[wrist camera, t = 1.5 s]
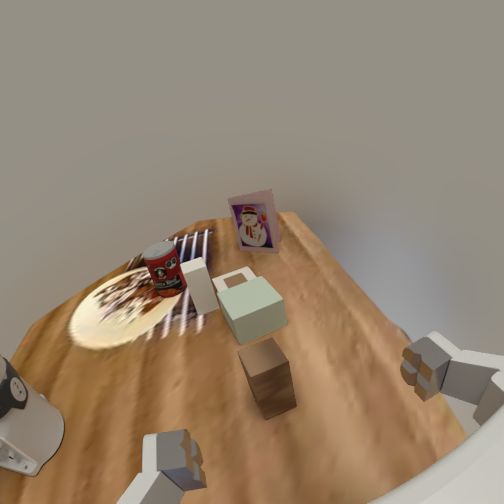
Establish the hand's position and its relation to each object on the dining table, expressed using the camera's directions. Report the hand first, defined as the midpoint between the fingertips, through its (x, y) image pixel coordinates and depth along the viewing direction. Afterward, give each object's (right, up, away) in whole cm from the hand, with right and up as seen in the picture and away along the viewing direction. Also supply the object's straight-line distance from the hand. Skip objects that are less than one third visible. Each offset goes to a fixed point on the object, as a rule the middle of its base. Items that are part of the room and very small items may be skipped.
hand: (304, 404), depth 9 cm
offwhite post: (-11, -6, +50) cm, 52 cm away
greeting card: (+1, +6, +70) cm, 70 cm away
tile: (-5, -2, +56) cm, 56 cm away
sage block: (-1, -8, +44) cm, 44 cm away
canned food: (-21, -4, +60) cm, 63 cm away
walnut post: (+1, -15, +27) cm, 31 cm away
